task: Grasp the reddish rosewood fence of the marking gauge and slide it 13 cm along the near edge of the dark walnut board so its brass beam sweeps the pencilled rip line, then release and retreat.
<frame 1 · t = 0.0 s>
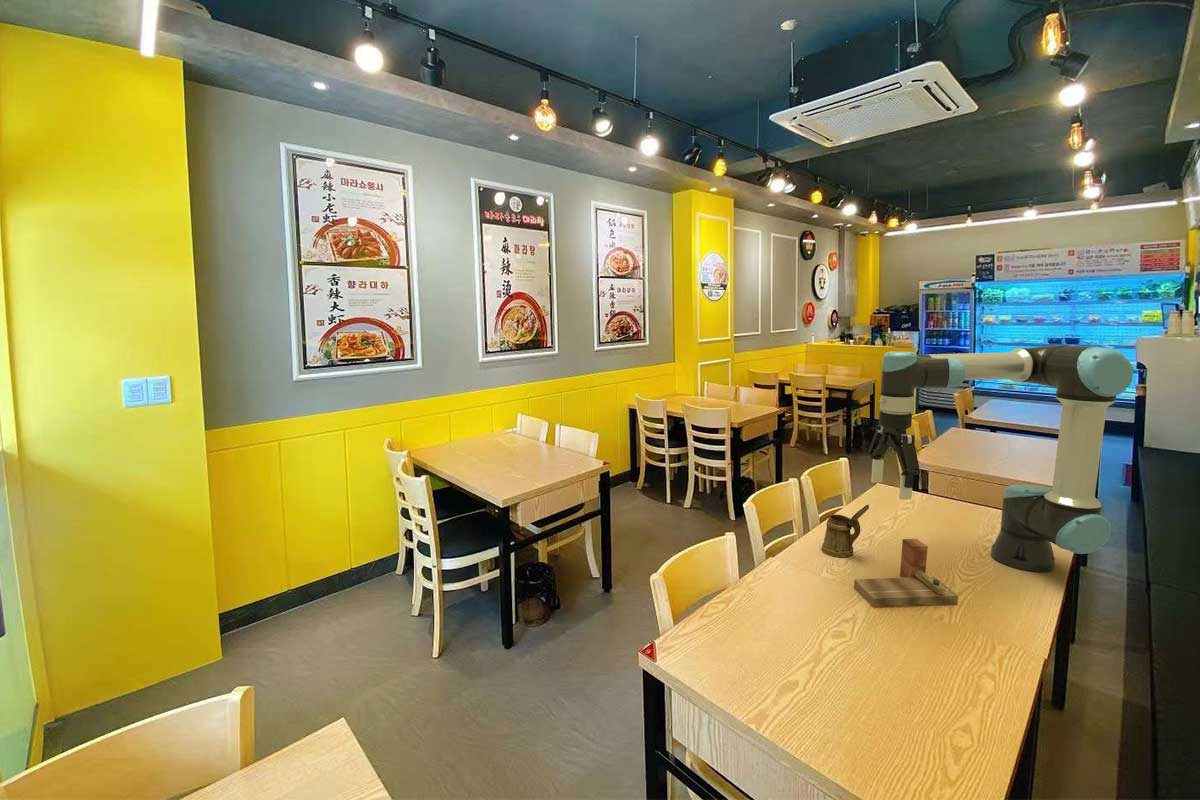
hand: (890, 490, 143), 28 cm above the table, fingers open, 13 cm apart
gauge: (924, 569, 145), point 6 cm above the table, slide at 0.0 cm
wooden mug: (844, 554, 168), on the table
board: (904, 595, 143), on the table
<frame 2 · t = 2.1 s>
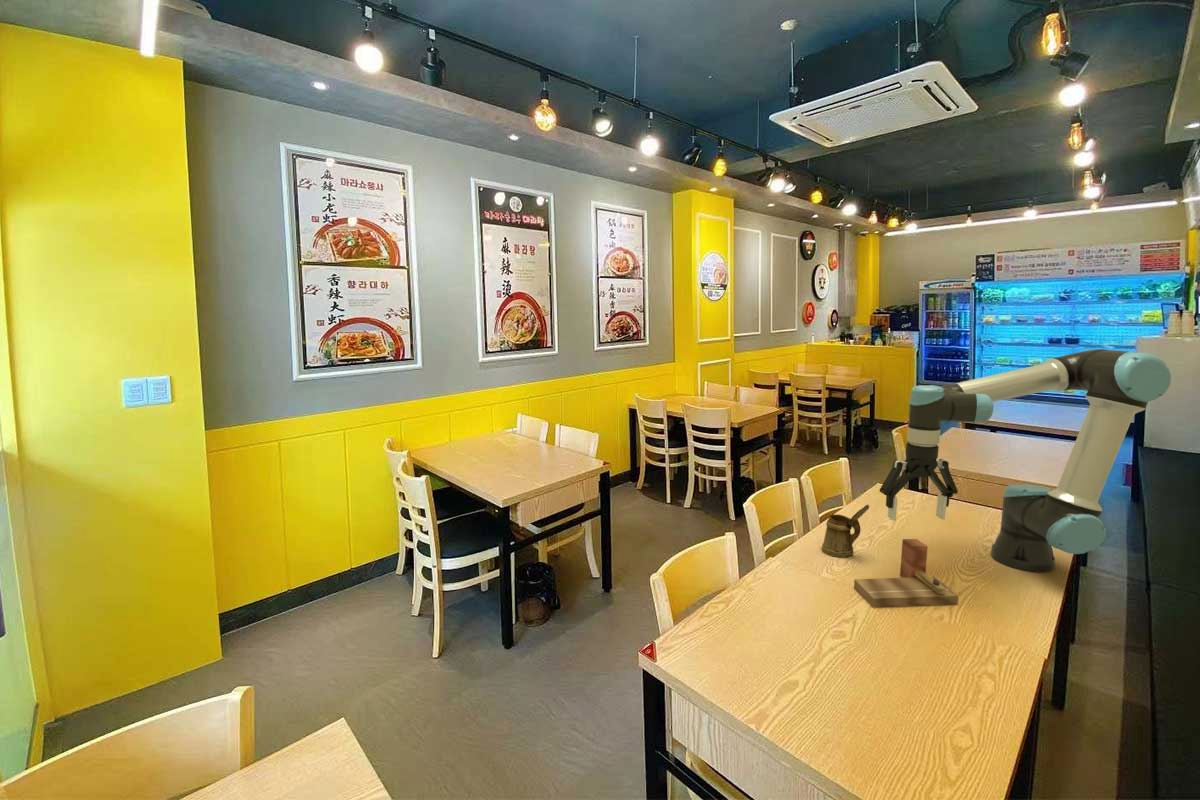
hand: (915, 518, 148), 18 cm above the table, fingers open, 13 cm apart
nothing on the table moved.
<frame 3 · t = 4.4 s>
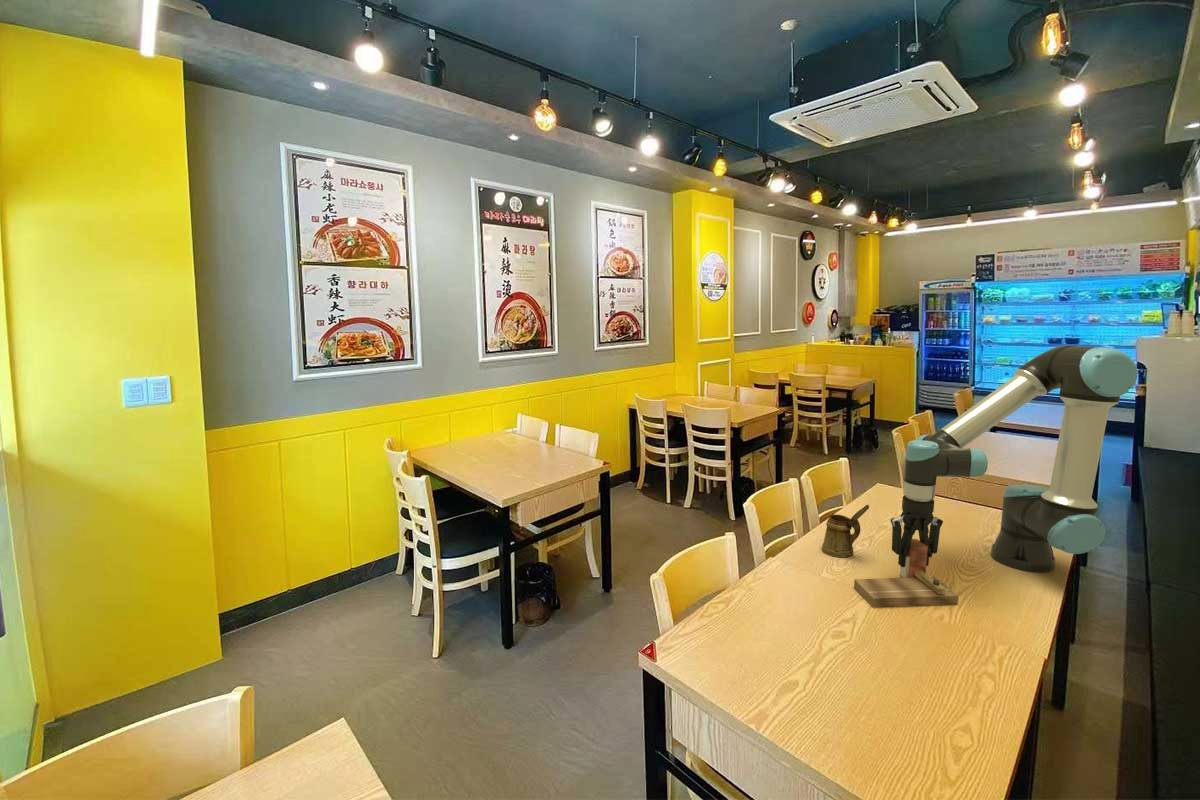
hand: (912, 576, 151), 1 cm above the table, fingers closed on gauge, 4 cm apart
gauge: (924, 569, 145), point 6 cm above the table, slide at 0.0 cm, touching gripper
everything else where it was.
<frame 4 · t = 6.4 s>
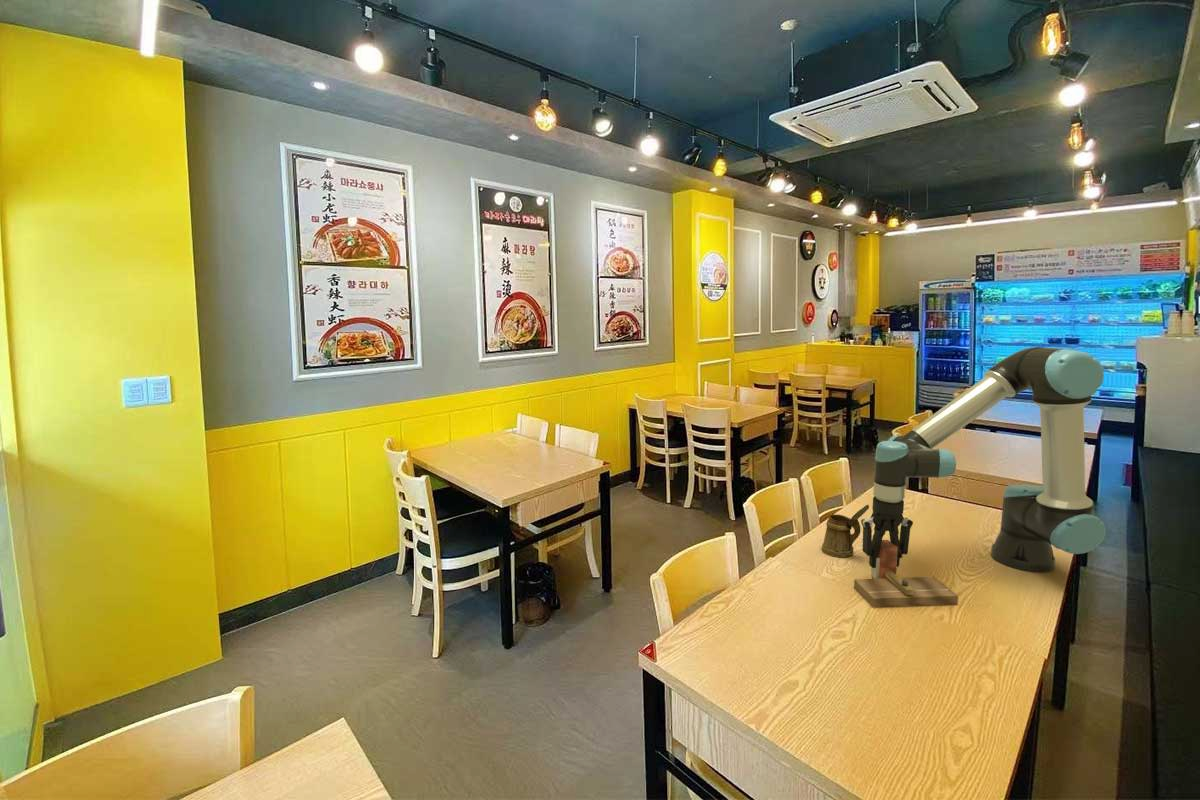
hand: (883, 577, 151), 1 cm above the table, fingers closed on gauge, 4 cm apart
gauge: (894, 570, 145), point 6 cm above the table, slide at 8.3 cm, touching gripper
everything else where it was.
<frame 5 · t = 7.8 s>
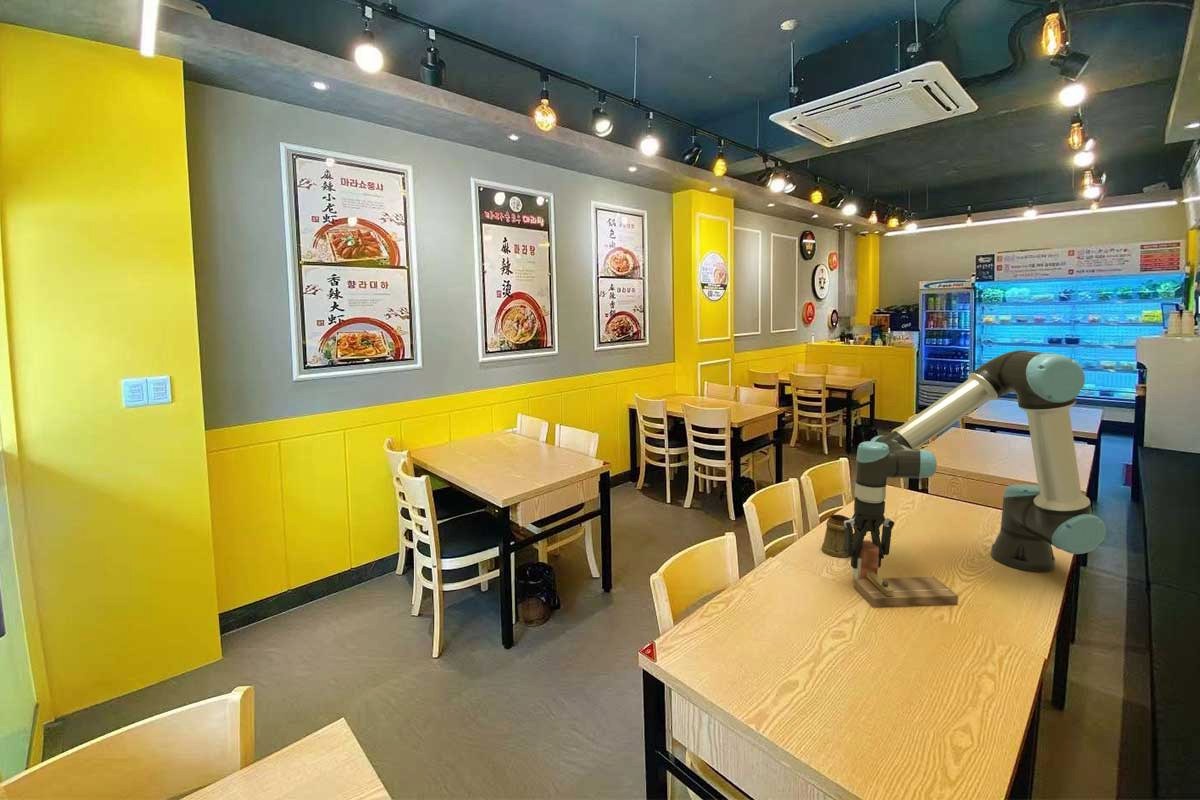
hand: (864, 578, 151), 1 cm above the table, fingers closed on gauge, 4 cm apart
gauge: (875, 571, 145), point 6 cm above the table, slide at 13.5 cm, touching gripper
everything else where it was.
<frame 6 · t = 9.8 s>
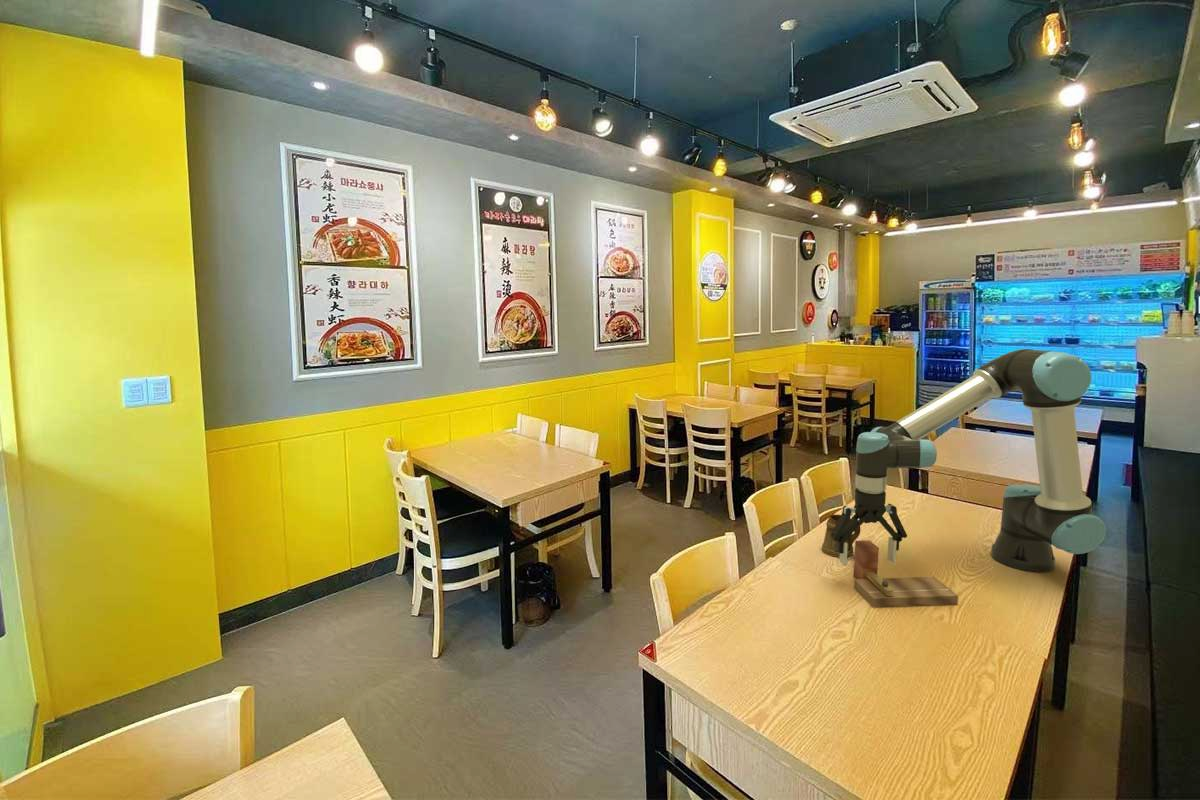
hand: (867, 562, 150), 6 cm above the table, fingers open, 13 cm apart
gauge: (875, 571, 145), point 6 cm above the table, slide at 13.5 cm
everything else where it was.
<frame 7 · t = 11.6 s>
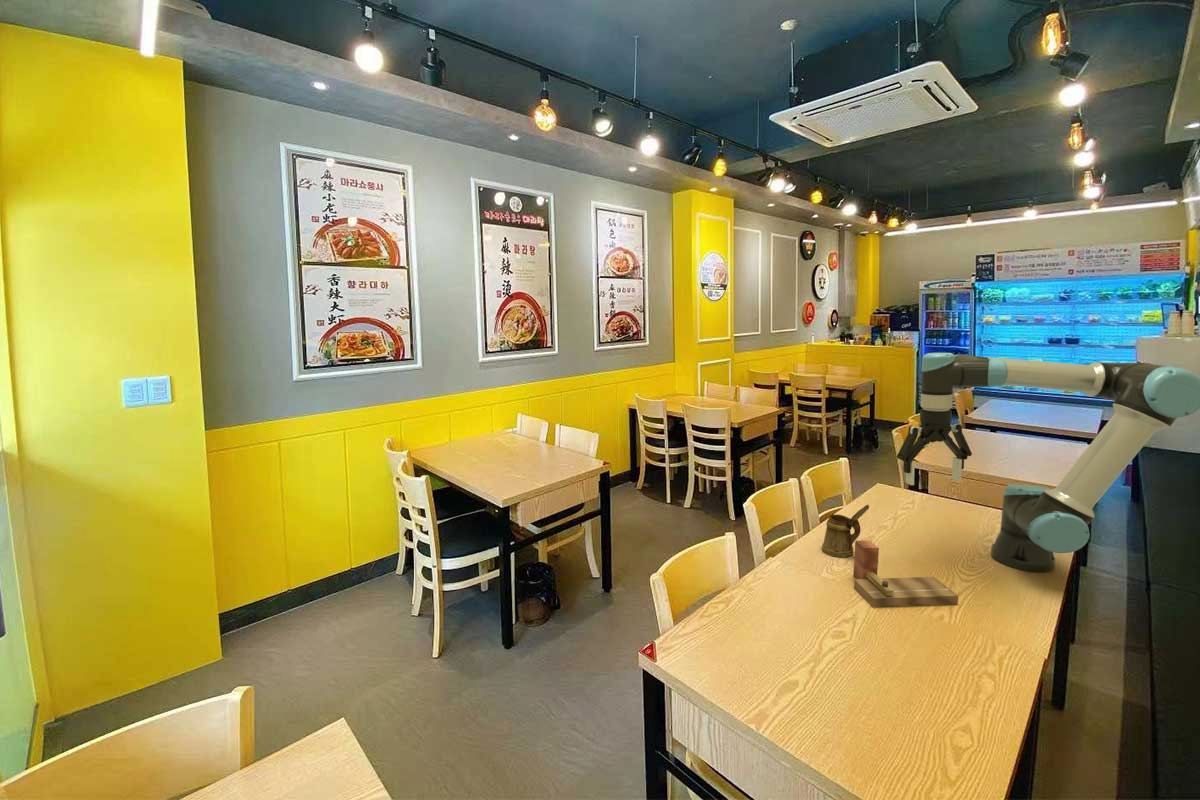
hand: (933, 482, 153), 27 cm above the table, fingers open, 13 cm apart
nothing on the table moved.
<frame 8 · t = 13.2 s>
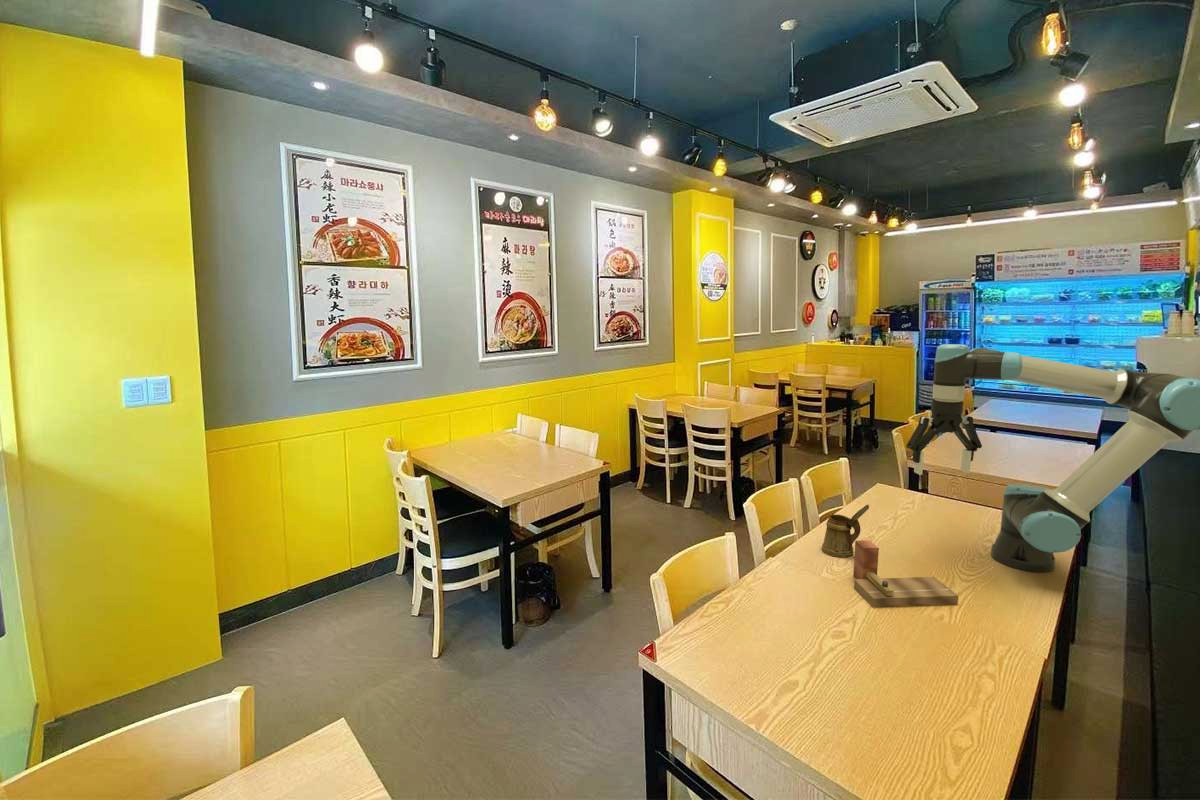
hand: (941, 472, 154), 29 cm above the table, fingers open, 13 cm apart
nothing on the table moved.
at the end: gauge slide at 13.5 cm; the gripper is holding nothing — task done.
